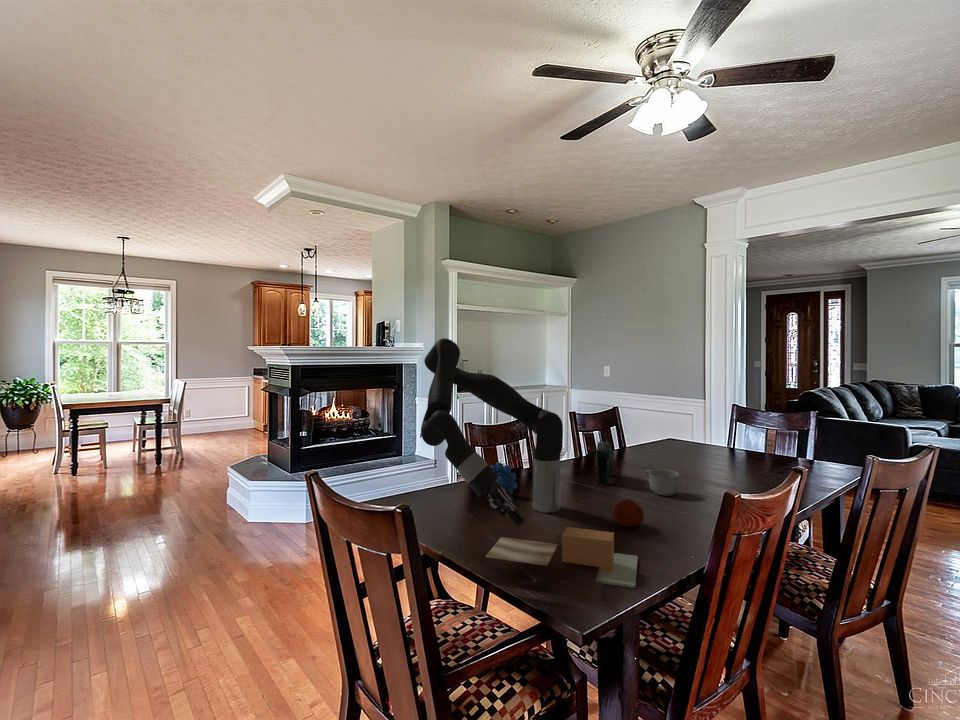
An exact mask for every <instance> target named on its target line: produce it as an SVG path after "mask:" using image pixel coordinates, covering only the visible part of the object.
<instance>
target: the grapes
mask: <svg viewBox="0 0 960 720" xmlns="http://www.w3.org/2000/svg"><path fill="white" fill-rule="evenodd" d="M489 466H490V467H491V468H492V469H493V470H494V471H495V472H496V473H497V475H498V476H499V478H498V479H497V480H496V482H497V483H498V484H500V485H501V486H502V487H503V488H504V489H505V488H506V487H507V488H509V490H510V492H511V494H513V493H514V490H516V489H518V483H517V481H516V480H517V474H516V473H515V472H512V468H511V466H510V465H508V464H505V465H504V464H503V463H502V462H499V461H497V462H496V464H495V465H492V464H491V465H489Z"/></svg>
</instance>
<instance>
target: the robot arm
mask: <svg viewBox="0 0 960 720" xmlns="http://www.w3.org/2000/svg"><path fill="white" fill-rule="evenodd" d="M460 356H461V351H460V347H459V346H458V344H457V343H456V342H455V341H453V340H452V339H449V338H445V337H444V338H441V339H439V340H437V341H436V342H435V343H434V345H433V346H432V347H431V349H430V350H429V352H427V354H426V356H425V358H424V361H423V362H424V364H425V367H426V368H427V369H428V370H429V371H430V372H431V373H433V374H434V376H433V378H432V381H431V383H430V388H429V391H428V395H427V397H428V398H427V405H426V407H427V408H426V411H425V413H424V416H423V420H422V422H421V425H420V426H421V427H420V434H421V439H422V440H423V442H424V443H425V444H427V445H428V446H430V447H435V446H436V447H437V446H439V445H441V444H443V442H444V441H445V442H446V444H447V446H446V449H445V453H444V455H445V458H446V459H447V460H448V461H449V463H450V464H451V465H452V466H453V467H454V468H455V469H456V471H457V472H458V473H459V475H460V476H461V478H463V480H464V481H465V482H466V483H467V484H468V486H469V487H470V488H471V489H472V491H474V493H476V495H477V496H481V495H482V494H483V495H484V497H485V498H486V499H487V501H488V502H489V504H488V505H487V506H488V508H489V509H490V510H491V511H493V512H495V513H496V514H498V515H500V516H502V517H503V518H505V516H506V517H509V518H510V519H511V521H512V522H514V524H515V525H516V526H517V527H520V526H521V525H522V524H524V522H525V520H526V519H525V518H524V517H523V516H522V514H521V513H520V512H519V511H518V510H517V507H516V505H517V503H516V501H515V498H514V496H513V495H512V494H513V493H512V494H511V492H510V490H509V488H507V487H506V488H505V489H504V488H503V487H502V486H501V485H500V484H498V483H497V482H496V480H497V479H498V478H499V476H498V475H497V473H496V472H495V471H494V470H493V469H492V468H491V467H490V466H491V465H490V464H489V463H488V462H487V461H486V459H484V458H483V457H482V456H481V455H480V454H479V452H477V451H476V450H475V449H474V448H473V447H472V446H471V445H470V444H469V442H467V440H466V438H465V436H464V434H463V432H462V429H461V427H460V426H459V424H458V422H457V421H456V419H455V417H454V416H453V415H452V414H450V413H451V411H452V404H453V388H454V385H456V386H457V387H459V388H461V389H463V390H464V391H467V392H468V393H469V394H471V395H473V396H475V397H476V398H478V399H479V400H480V401H482V402H484V403H485V404H486V405H488V406H490V407H492V408H494V409H495V410H497V411H499V412H501V413H503V414H505V415H507V416H510V417H512V418H515V419H516V420H517V421H519V422H521V424H523V425H524V426H525V427H527V428H528V429H529V430H530V431H531V432H533V434H535V448H534V449H533V450H532V509H533V510H534V511H536V512H539V513H547V514H548V513H549V514H550V513H556V512H559V511H560V510H561V453H562V452H563V451H562V450H563V441H564V438H563V437H564V435H563V434H564V433H563V432H564V428H563V427H564V426H563V421H562V418H561V417H560V416H559V415H558V414H556V413H554V412H553V411H550V410H547V409H544V408H541V407H540V406H537V405H535V404H533V402H530V401H529V400H527V399H526V398H524V397H523V396H522V395H521V394H520V393H519V392H518V391H517V390H516V389H514V388H513V387H512V386H511V385H509V383H507V382H505V381H504V380H502V379H500V378H499V377H497V376H496V375H493V374H488V373H479V372H478V373H476V372H469V371H465V370H463V369H460V368H459V367H458V364H459V360H460Z"/></svg>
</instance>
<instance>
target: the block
mask: <svg viewBox="0 0 960 720" xmlns="http://www.w3.org/2000/svg"><path fill="white" fill-rule="evenodd" d="M614 553H615V532H613V531H611V532H610V531H602V530H594V529H586V528H579V527H578V528H577V527H570V526H566V527H565V529H564V530H563V532H562V534H561V562H564V563H568V564H575V565H583V566H590V567H596V568H598V570H599V571H606V572H612V569H613V564H614Z"/></svg>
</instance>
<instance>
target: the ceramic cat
mask: <svg viewBox="0 0 960 720" xmlns="http://www.w3.org/2000/svg"><path fill="white" fill-rule="evenodd" d="M606 436H607V432H604V434H603V441H598V442H597V445H596V453H595V464H596V469H597V483H598V485H600V484H606V485H605V486H607V485H608V484H609V477H611V476H612V469H613V459H614V455H613V447H612V444H611V442H610V439H609V438H606V439H605V437H606Z"/></svg>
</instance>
